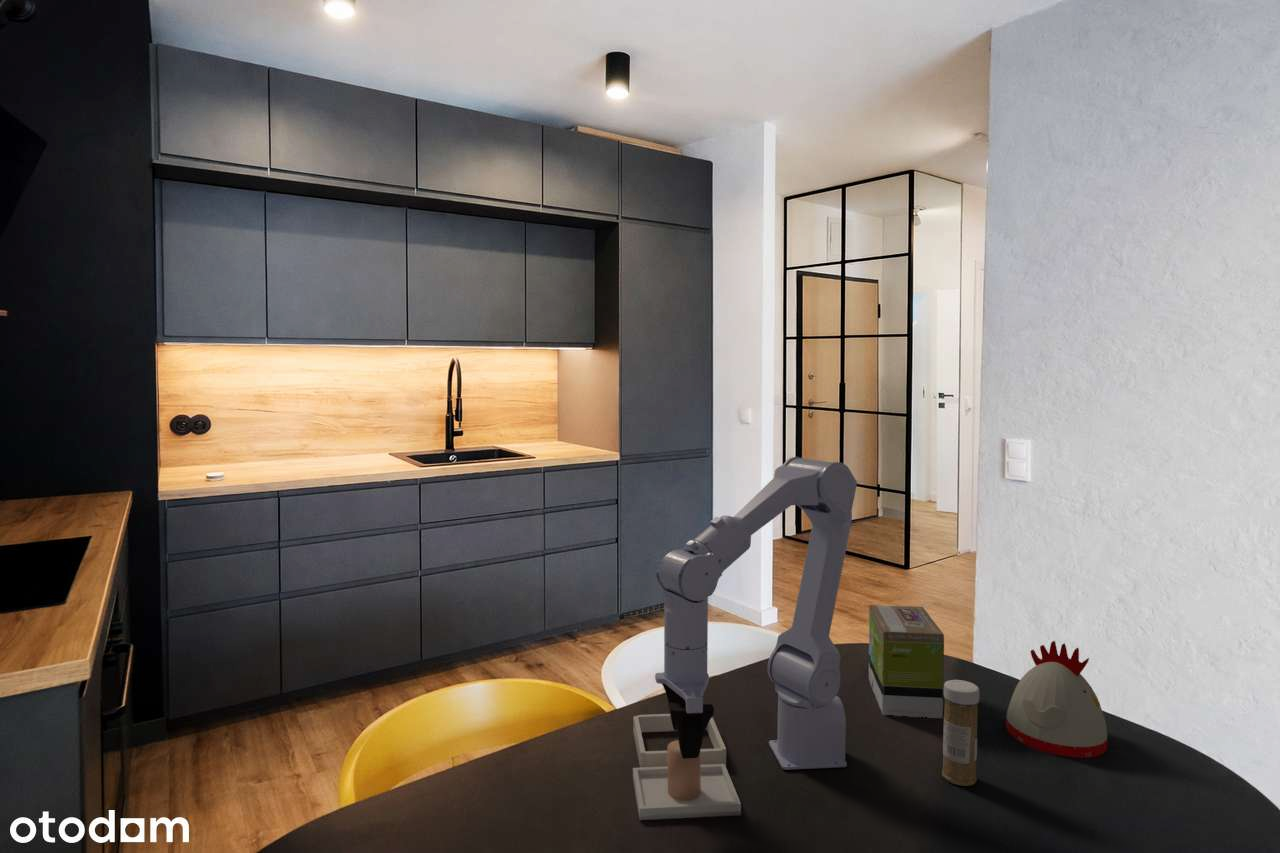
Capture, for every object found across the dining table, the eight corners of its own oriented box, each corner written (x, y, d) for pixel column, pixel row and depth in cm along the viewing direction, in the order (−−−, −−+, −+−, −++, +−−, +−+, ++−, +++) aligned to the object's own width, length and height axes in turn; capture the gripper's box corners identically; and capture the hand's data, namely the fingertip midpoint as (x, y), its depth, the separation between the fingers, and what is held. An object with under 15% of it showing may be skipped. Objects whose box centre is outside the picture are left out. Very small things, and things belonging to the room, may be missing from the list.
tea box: (866, 680, 138) (868, 602, 137) (922, 684, 137) (924, 605, 136) (881, 716, 123) (883, 629, 123) (944, 720, 122) (947, 632, 121)
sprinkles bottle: (983, 781, 103) (986, 686, 103) (963, 791, 101) (967, 694, 100) (953, 767, 107) (956, 675, 106) (934, 776, 105) (937, 682, 104)
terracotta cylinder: (697, 781, 102) (697, 738, 101) (703, 799, 97) (703, 754, 97) (665, 783, 101) (665, 740, 101) (670, 801, 97) (669, 756, 96)
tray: (724, 774, 105) (724, 763, 105) (740, 815, 95) (740, 803, 95) (632, 778, 104) (632, 767, 103) (639, 820, 94) (639, 808, 94)
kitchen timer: (1088, 767, 107) (1092, 666, 106) (991, 734, 118) (994, 641, 117) (1119, 737, 117) (1123, 643, 116) (1026, 708, 127) (1029, 622, 126)
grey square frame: (710, 727, 119) (710, 712, 119) (726, 767, 107) (726, 750, 106) (633, 730, 118) (633, 715, 118) (640, 771, 105) (640, 754, 105)
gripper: (649, 625, 105) (649, 718, 106) (662, 664, 90) (662, 772, 91) (699, 623, 105) (698, 716, 106) (719, 662, 91) (718, 769, 92)
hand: (685, 742), depth 99 cm, fingers open, 7 cm apart
